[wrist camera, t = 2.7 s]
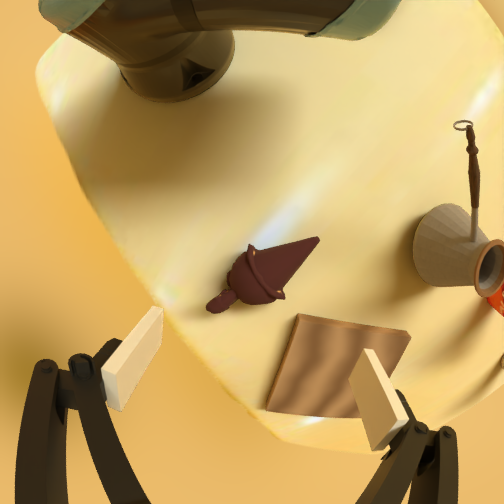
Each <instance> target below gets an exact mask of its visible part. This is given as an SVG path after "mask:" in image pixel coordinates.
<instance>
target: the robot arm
mask: <svg viewBox="0 0 504 504" xmlns="http://www.w3.org/2000/svg"><path fill="white" fill-rule="evenodd" d="M400 2H401V0H39V3H38V5H39V11H40V13H41V15H42V16H43V18H44V19H46V20H47V21H49V22H50V23H52V24H53V25H55V26H56V27H57V28H58V30H59V31H60V32H62V33H67V34H69V35H70V36H72V37H74V38H76V39H78V40H79V41H81V42H83V43H85V44H86V45H88V46H90V47H92V48H93V49H95V50H97V51H98V52H100V53H102V54H103V55H105V56H106V57H108V58H110V59H111V60H113V61H114V62H116V64H117V66H118V67H119V68H120V72H121V75H122V77H123V79H124V81H125V83H126V84H127V85H128V87H129V88H130V89H131V90H133V91H134V92H135V93H137V94H139V95H140V96H142V97H144V98H146V99H148V100H151V101H155V102H161V103H170V102H178V101H182V100H186V99H189V98H192V97H194V96H196V95H198V94H200V93H202V92H204V91H205V90H207V89H208V88H210V87H211V86H212V85H214V84H215V83H216V82H217V81H218V80H219V79H220V78H221V77H222V76H223V74H224V73H225V72H226V70H227V69H228V67H229V65H230V63H231V61H232V59H233V55H234V50H235V41H234V37H233V33H232V30H251V31H272V32H284V33H293V34H302V35H304V36H305V37H311V38H314V37H319V36H322V37H329V38H336V39H342V40H349V41H355V40H360V39H363V38H365V37H367V36H370V35H373V34H374V33H376V32H377V31H378V30H380V29H381V28H382V27H383V26H384V25H385V24H386V23H387V21H388V20H389V19H390V18H391V16H392V15H393V14H394V12H395V10H396V9H397V7H398V5H399V4H400ZM163 315H164V309H163V308H159V307H156V306H152V307H151V309H150V310H149V311H148V312H147V313H146V314H145V316H144V317H143V318H142V319H141V320H140V322H139V323H138V324H137V325H136V326H135V327H134V329H133V330H132V331H131V332H130V334H129V335H128V336H127V337H126V338H125V340H124V341H121V340H118V339H116V338H113V339H111V340H109V341H107V342H106V343H105V345H104V346H103V347H102V348H101V349H100V350H99V352H98V353H97V354H96V355H95V356H94V357H93V358H92V357H91V356H89V355H87V354H81V353H80V354H75V355H73V356H71V357H70V359H69V362H68V365H69V369H70V371H67V370H62V369H58V366H57V364H56V362H54V361H53V360H50V359H43V360H40V361H38V362H37V363H36V365H35V367H34V371H33V374H32V378H31V381H30V385H29V389H28V393H27V397H26V402H25V406H24V411H23V416H22V422H21V427H20V433H19V441H18V448H17V458H16V472H15V504H68V494H67V478H66V431H67V430H66V429H67V414H68V408H70V409H74V410H78V412H79V416H80V419H81V423H82V427H83V431H84V434H85V437H86V441H87V444H88V447H89V450H90V453H91V456H92V459H93V462H94V464H95V467H96V470H97V472H98V474H99V478H100V480H101V482H102V485H103V487H104V490H105V492H106V494H107V496H108V498H109V500H110V503H111V504H151V503H150V501H149V500H148V498H147V496H146V494H145V493H144V491H143V489H142V487H141V485H140V483H139V482H138V480H137V478H136V476H135V474H134V472H133V470H132V468H131V466H130V463H129V461H128V459H127V457H126V455H125V453H124V451H123V448H122V446H121V443H120V441H119V439H118V436H117V434H116V431H115V429H114V426H113V423H112V421H111V418H110V415H109V412H108V409H107V407H106V403H105V401H106V400H107V404H108V407H110V408H113V409H115V410H117V411H120V412H122V410H123V408H124V407H125V405H126V403H127V401H128V400H129V398H130V396H131V394H132V393H133V391H134V389H135V388H136V386H137V384H138V382H139V381H140V379H141V377H142V376H143V374H144V372H145V371H146V369H147V367H148V366H149V364H150V362H151V360H152V359H153V357H154V356H155V354H156V352H157V351H158V349H159V347H160V346H161V344H162V329H163ZM348 380H349V383H350V385H351V388H352V391H353V394H354V397H355V400H356V403H357V406H358V409H359V412H360V415H361V418H362V421H363V424H364V427H365V430H366V434H367V437H368V440H369V443H370V446H371V450H372V451H380V450H384V449H385V448H386V446H387V445H388V444H389V446H390V448H391V449H390V450H389V451H388V452H387V453H386V454H385V455H384V456H383V457H382V458H381V460H383V461H382V463H381V464H380V466H379V468H378V469H377V471H376V473H375V474H374V476H373V478H372V479H371V481H370V482H369V484H368V485H367V487H366V489H365V490H364V492H363V493H362V494H361V496H360V497H359V499H358V500H357V502H356V503H355V504H401V502H402V500H403V498H404V496H405V494H406V492H407V490H408V488H409V485H410V483H411V481H412V483H411V489H410V495H409V500H408V504H458V450H457V438H456V432H455V431H454V430H453V429H452V428H451V427H449V426H443V427H442V428H440V430H439V431H432V430H429V428H428V427H427V425H426V424H424V423H423V422H419V421H417V420H416V418H415V416H414V414H413V412H412V410H411V408H410V406H409V405H408V403H407V402H406V399H405V397H404V395H403V394H402V393H401V392H400V391H399V390H394V388H393V386H392V384H391V382H390V380H389V378H388V376H387V374H386V372H385V370H384V369H383V367H382V365H381V363H380V361H379V359H378V357H377V356H376V354H375V352H374V350H373V349H363V351H362V353H361V355H360V357H359V359H358V361H357V363H356V365H355V367H354V369H353V371H352V373H351V375H350V377H349V379H348Z"/></svg>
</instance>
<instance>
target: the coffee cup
mask: <svg viewBox="0 0 504 504" xmlns="http://www.w3.org/2000/svg"><path fill="white" fill-rule="evenodd" d="M487 301H488V303H489V304H490V305H491V306H492V307H493V308H494V309H495V310H497V311H498V312H499V313H500V314H501V315H502V316H503V317H504V283H503V284H502V286H501V287H500V289H499V290H498V291H497V292H496V293H495V294H493V295H492V296H490V297H487Z"/></svg>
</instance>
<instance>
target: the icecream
mask: <svg viewBox="0 0 504 504" xmlns="http://www.w3.org/2000/svg"><path fill="white" fill-rule="evenodd" d="M319 241H320V239H319V238H318V237H317V236H316V237H312V238H308V239H304V240H300V241H296V242H292V243H288V244H284V245H280V246H276V247H272V248H268V249H264V250H257V249H255V247H254V246H252V245H250V244H249V246H248V249H247V252H244V253H243V254H242V255H241V256H239V257H238V258H237V260H236V262H235V263H234V264H233V267H232V270H231V271H229V272H228V273H227V283H228V286H229V287H230V289H228V290H226V289H225V290H223V291H222V292H221V293H220V294H219V295H218V296H217V297H215V298H213V299H212V300H211V301H210V302H208V303H207V305H206V309H207V311H209V312H211V313H213V314H216V313H221V312H223V311H225V310H227V309H228V308H229V306H230V305H232V304H233V303H234V302H235V301H236V300H237V299H240V300H241V301H242V302H243V303H246V304H250V305H260V304H268V303H272V302H274V301H275V300H276V299H283V300H285V294H284V292H283V287H284V286H285V285H286V283H287V282H288V281H289V280H290V278H291V277H292V276H293V275H294V273H295V272H296V271H297V270H298V268H299V267H300V266H301V265H302V263H303V262H304V261H305V259H306V258H307V257H308V256H309V254H310V253H311V252H312V251H313V249H314V248H315V247H316V245H317V244H318V243H319Z"/></svg>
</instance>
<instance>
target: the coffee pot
mask: <svg viewBox="0 0 504 504" xmlns="http://www.w3.org/2000/svg"><path fill="white" fill-rule="evenodd" d="M461 122H467V123H471V124H472V125H467V126H466V128H462V129H461V128H456V127H455V125H456V124H457V123H461ZM453 127H454V128H455V129H456V130H460V131H465V130H466V137H467V140H468V146H467V148H466V151H467V152H468V153H469V170H468V174H469V183H470V195H471V207H472V214H471V217H470V216H469V214H468V213H467V212H466V211H465V210H463V209H462V208H461V207H460V206H457V205H455V204H442V205H439V206H437V207H435V208H433V209H432V210H431V211H429V212H428V213H427V214H426V215H425V216H424V217H423V219H422V220H421V222H420V223H419V225H418V227H417V230H416V232H415V236H414V240H413V259H414V264H415V267H416V269H417V272H418V274H419V276H420V277H421V278H422V279H423V280H424V281H425V282H426V283H428V284H430V285H432V286H436V287H453V286H475V290H476V291H477V293H478V295H480V296H481V297H490V296H492V295H493V294H495V293H496V292H497V291H498V290H499V289H500V287H501V286H502V284H503V283H504V242H503V241H502V240H499V239H496V240H492V241H489V239H488V238H487V237H486V235H485V234H484V233H483V232H482V230H481V229H480V228H479V227H478V207H479V192H480V170H479V165H478V160H477V155H476V154H477V153H478V148H477V147H476V146H475V134H474V130H473V128H472V127H473V123H472V122H471V121H468V120H460V121H457V122H455V123H454V125H453Z"/></svg>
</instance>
